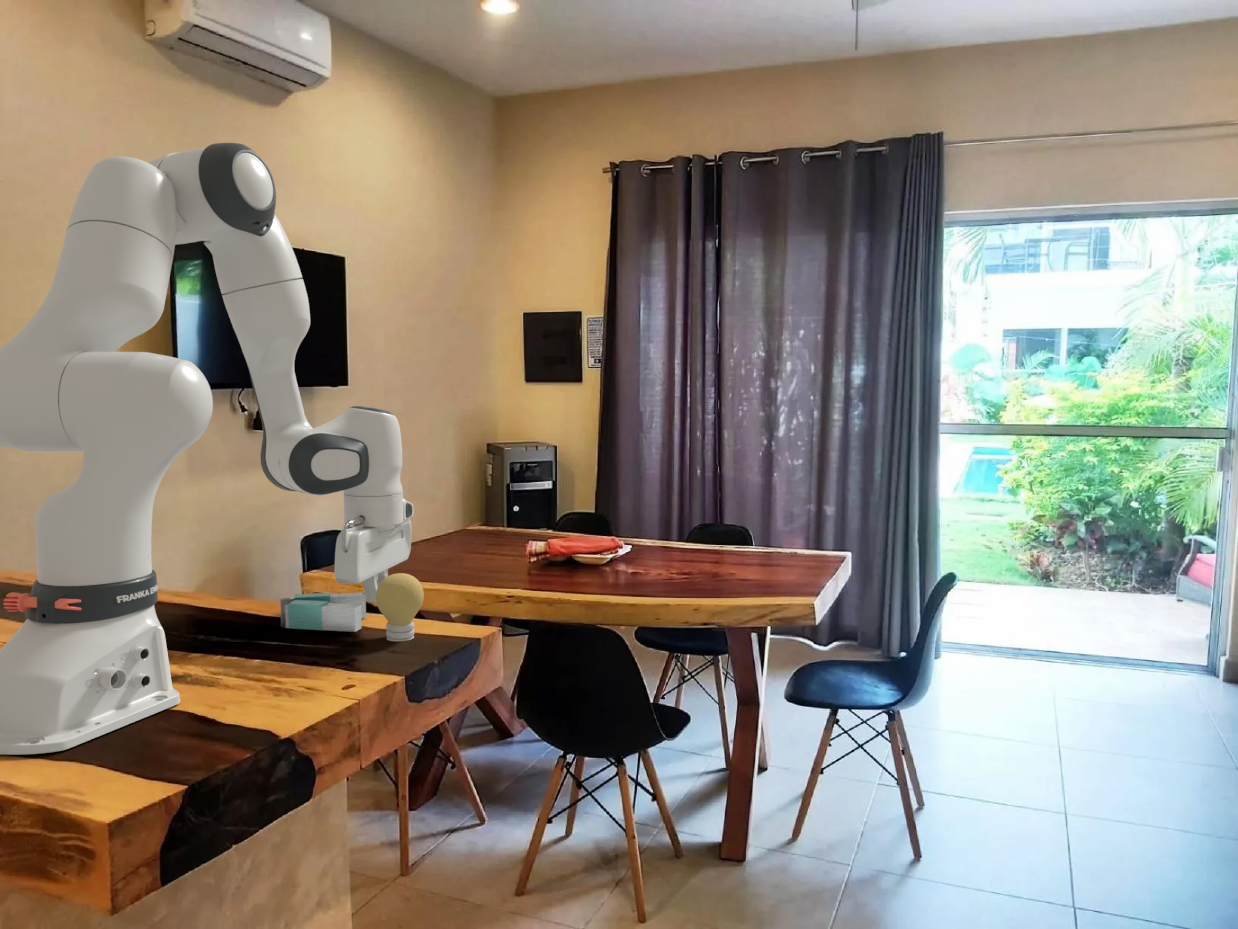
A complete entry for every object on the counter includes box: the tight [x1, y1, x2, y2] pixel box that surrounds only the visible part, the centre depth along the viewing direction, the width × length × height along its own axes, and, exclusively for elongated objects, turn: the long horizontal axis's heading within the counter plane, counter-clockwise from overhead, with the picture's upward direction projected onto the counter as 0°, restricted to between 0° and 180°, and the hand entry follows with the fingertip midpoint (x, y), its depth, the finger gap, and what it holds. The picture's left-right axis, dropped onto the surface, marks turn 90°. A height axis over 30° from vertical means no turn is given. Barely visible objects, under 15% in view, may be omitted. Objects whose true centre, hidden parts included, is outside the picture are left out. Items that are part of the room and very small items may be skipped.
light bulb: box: [375, 572, 425, 642], centre depth 123 cm, size 6×6×10 cm
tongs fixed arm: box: [279, 597, 363, 633], centre depth 128 cm, size 2×12×4 cm, turn 81°
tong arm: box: [289, 591, 367, 620], centre depth 132 cm, size 2×10×4 cm, turn 106°
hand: (375, 600), depth 140 cm, fingers closed
